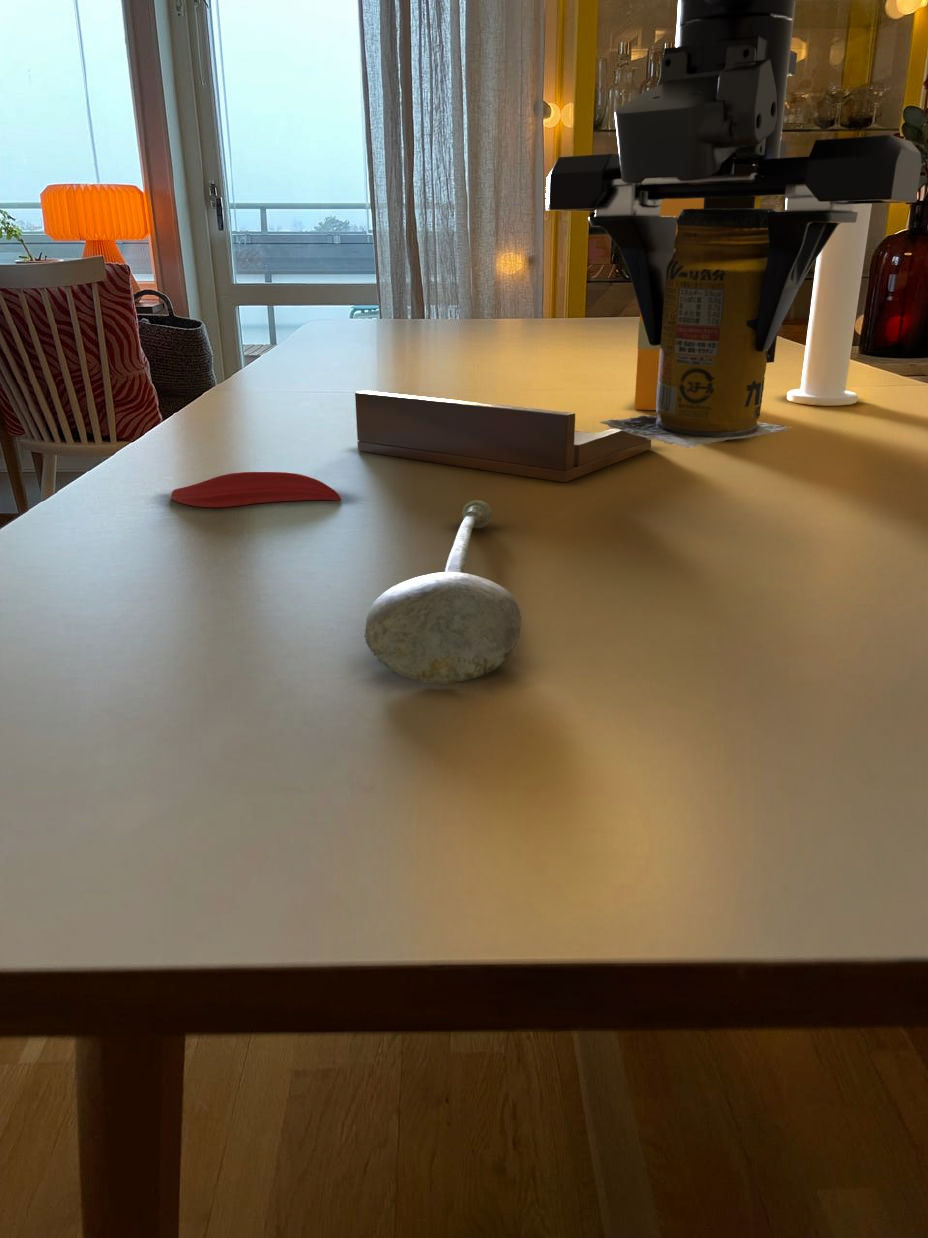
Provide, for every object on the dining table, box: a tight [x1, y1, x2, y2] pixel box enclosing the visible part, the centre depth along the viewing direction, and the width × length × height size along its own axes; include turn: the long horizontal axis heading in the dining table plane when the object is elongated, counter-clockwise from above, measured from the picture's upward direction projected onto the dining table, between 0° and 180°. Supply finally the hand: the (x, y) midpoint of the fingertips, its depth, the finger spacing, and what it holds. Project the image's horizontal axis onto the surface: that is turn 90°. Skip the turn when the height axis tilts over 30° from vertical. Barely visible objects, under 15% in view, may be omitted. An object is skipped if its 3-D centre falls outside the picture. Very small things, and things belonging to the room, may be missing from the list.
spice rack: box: [354, 390, 652, 483], centre depth 77 cm, size 14×20×5 cm
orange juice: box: [633, 198, 704, 411], centre depth 94 cm, size 8×9×20 cm
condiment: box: [599, 207, 792, 448], centre depth 53 cm, size 7×8×12 cm
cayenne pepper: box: [170, 471, 342, 508], centre depth 63 cm, size 12×5×2 cm, turn 79°
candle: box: [786, 204, 873, 407], centre depth 95 cm, size 7×7×25 cm
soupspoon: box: [364, 499, 522, 685], centre depth 46 cm, size 22×3×7 cm
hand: (707, 347), depth 53 cm, fingers closed on condiment, 6 cm apart
